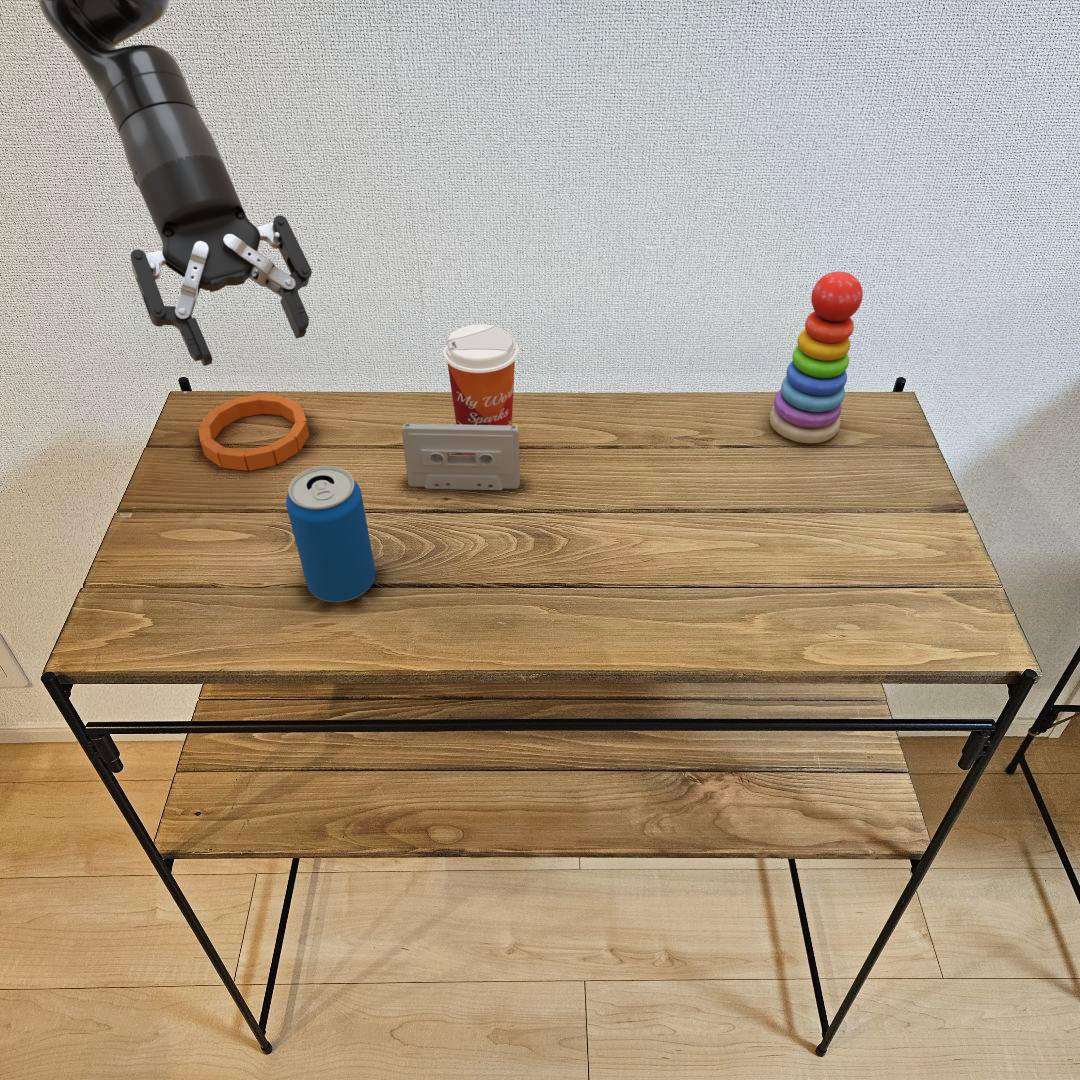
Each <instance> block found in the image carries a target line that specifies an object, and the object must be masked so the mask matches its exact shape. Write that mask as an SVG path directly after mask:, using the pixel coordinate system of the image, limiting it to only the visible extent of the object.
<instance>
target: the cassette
mask: <svg viewBox="0 0 1080 1080" xmlns="http://www.w3.org/2000/svg"><path fill="white" fill-rule="evenodd" d="M401 437H402V446H403V454H404V460H405V468H406V469H405V470H406V476H407V477H406V478H407V483H408V486H409V487H413V488H414V487H416V488H417V487H418V488H421V487H422V488H425V489H427V490H466V491H467V490H468V491H470V490H471V491H472V490H473V491H474V490H475V491H502V490H503V489H509V490H511V489H516V490H517V489H519V488H520V486H521V469H520V429H519V427H518V426H517V425H512V426H506V425H456V423H455V424H452V423H449V424H447V423H404V424H403V425H402V427H401ZM461 453H475V455H462V454H461Z"/></svg>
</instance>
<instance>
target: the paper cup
mask: <svg viewBox="0 0 1080 1080" xmlns="http://www.w3.org/2000/svg"><path fill="white" fill-rule="evenodd" d="M519 352H520V348H519V345H518V343H517V342H516V339H515V338H514V336H512V335H511V334H510V333H509V332H508V331H507V330H505V329H504V328H501V327H499V326H497V325H493V324H484V323H483V324H481V323H477V324H470V325H466V326H463V327H460V328H458V329H456V330H455V331H453V332H452V333H451V334H450V335H449V336H448V338H447V340H446V345H445V346H444V347H443V351H442V355H443V359H444V361H445V362H446V363H447V370H448V377H449V385H450V392H451V397H452V405H453V411H454V419H455V425H506V426H513V412H514V411H513V409H514V408H513V407H514V388H515V367H516V366H515V365H516V359H517V358H518V356H519ZM460 455H475V453H460Z"/></svg>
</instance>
